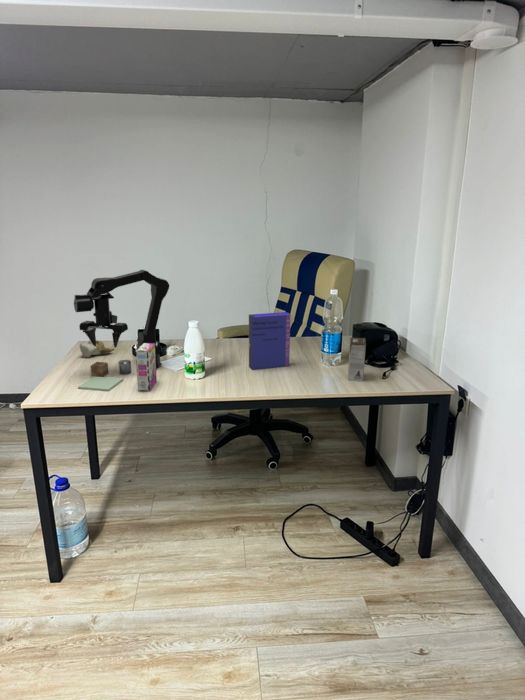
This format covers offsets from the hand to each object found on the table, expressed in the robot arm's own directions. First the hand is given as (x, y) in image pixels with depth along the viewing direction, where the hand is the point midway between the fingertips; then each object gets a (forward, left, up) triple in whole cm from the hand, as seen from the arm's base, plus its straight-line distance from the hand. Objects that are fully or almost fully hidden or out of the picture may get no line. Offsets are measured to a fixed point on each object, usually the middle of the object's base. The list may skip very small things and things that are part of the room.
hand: (105, 346), depth 196 cm
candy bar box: (-22, +9, -13) cm, 27 cm away
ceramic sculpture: (+19, -24, -13) cm, 33 cm away
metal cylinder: (-6, -4, -12) cm, 14 cm away
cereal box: (-65, -24, -13) cm, 70 cm away
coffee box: (-103, -18, -13) cm, 105 cm away
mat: (-3, +11, -12) cm, 17 cm away
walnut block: (+3, +1, -12) cm, 13 cm away
